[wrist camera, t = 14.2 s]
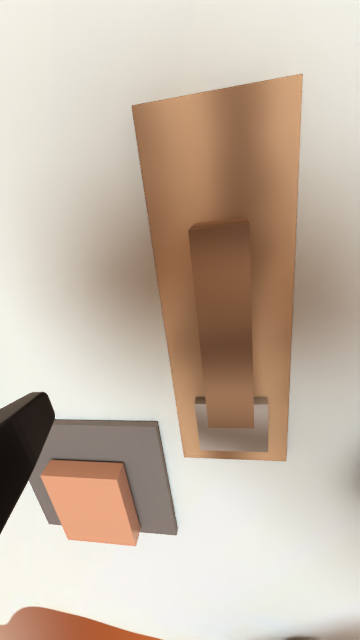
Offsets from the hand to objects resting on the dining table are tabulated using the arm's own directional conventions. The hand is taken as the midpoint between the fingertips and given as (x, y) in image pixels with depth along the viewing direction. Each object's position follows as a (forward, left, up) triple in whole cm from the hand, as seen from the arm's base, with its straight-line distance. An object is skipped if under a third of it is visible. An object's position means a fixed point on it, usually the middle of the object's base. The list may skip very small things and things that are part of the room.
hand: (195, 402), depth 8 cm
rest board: (-1, +2, -11) cm, 12 cm away
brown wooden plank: (-1, +4, -11) cm, 11 cm away
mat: (+12, +18, -11) cm, 25 cm away
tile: (+12, +15, -10) cm, 22 cm away
